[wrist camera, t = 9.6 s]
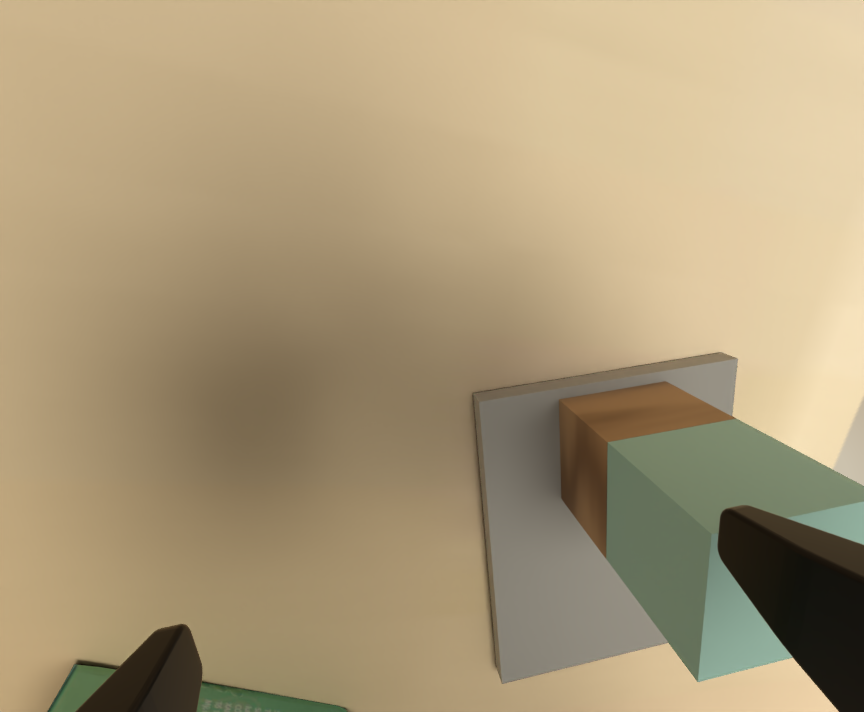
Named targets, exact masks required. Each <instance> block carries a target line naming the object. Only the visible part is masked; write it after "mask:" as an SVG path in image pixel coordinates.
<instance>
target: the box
mask: <svg viewBox="0 0 864 712" xmlns="http://www.w3.org/2000/svg"><path fill="white" fill-rule="evenodd" d="M115 671H116V669H109V668H103V667H94V666H86V665H77V664H75V665H74V666H73V668H72V670H71V672H70V673H69V675H68V677H67V679H66V680H65V682H64V684H63V686H62V687H61V689H60V691H59V693H58V694H57V696H56V698H55V700H54V701H53V703H52V705H51V706H50V708H49V710H48V712H75V711H76V710H77V709H78V708H79V707H80V706H81V705H82V704H83V703H84V702H85V701H86V700H87V699H88V698H89V697H90V696H91V695H92V694H93V693H94V692H95V691H96V690H97V689H98V688H99V687H100V686H101V685H102V684H103V683H104V682H105V681H106V680H107V679H108V678H109V677H110V676H111V675H112V674H113V673H114V672H115ZM197 712H347V711H346V709H345V708H342V707H339V706H336V705H330V704H325V703H319V702H313V701H308V700H302V699H297V698H291V697H286V696H280V695H275V694H269V693H264V692H258V691H252V690H246V689H240V688H234V687H228V686H222V685H217V684H210V683H204V682H202V683H201V689H200V695H199V701H198V707H197Z"/></svg>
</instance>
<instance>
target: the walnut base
mask: <svg viewBox="0 0 864 712" xmlns="http://www.w3.org/2000/svg"><path fill="white" fill-rule="evenodd" d="M732 419H736V418H734V417H732V416H730V415H729V414H727V413H725V412H723V411H721V410H719V409H717V408H715V407H713V406H712V405H710V404H708V403H706V402H704V401H702V400H700V399H698V398H696V397H695V396H693V395H691V394H689V393H687V392H685V391H683V390H681V389H679V388H678V387H676V386H674V385H672V384H670V383H668V382H666V381H664V382H658V383H652V384H646V385H641V386H635V387H629V388H623V389H617V390H611V391H605V392H599V393H594V394H588V395H582V396H576V397H570V398H564V399H559V426H560V465H561V499H562V500H563V502H564V503H565V504H566V506H567V507H568V508H569V510H570V511H571V513H572V514H573V515H574V517H575V518H576V519H577V521H578V522H579V523H580V525H581V526H582V527H583V529H584V530H585V531H586V533H587V534H588V535H589V537H590V538H591V539H592V541H593V542H594V544H595V545H596V546H597V548H598V549H599V550H600V552H601V553H602V554H603V556H604V557H605V558H606V539H607V455H608V442H612V441H617V440H622V439H628V438H633V437H639V436H644V435H650V434H655V433H661V432H666V431H672V430H677V429H683V428H688V427H693V426H699V425H704V424H710V423H715V422H721V421H726V420H732Z"/></svg>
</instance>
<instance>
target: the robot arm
mask: <svg viewBox="0 0 864 712" xmlns="http://www.w3.org/2000/svg"><path fill="white" fill-rule="evenodd" d="M717 549H718V553H719V556H720V558H721V560H722V562H723V564H724V565H725V566H726V568H727V569H728V570H729V572H730V573H731V575H732V576H733V577H734V579H735V580H736V582H737V583H738V584H739V586H740V587H741V588H742V590H743V591H744V593H745V594H746V595H747V597H748V598H749V600H750V601H751V602H752V604H753V605H754V606H755V608H756V609H757V611H758V612H759V613H760V615H761V616H762V618H763V619H764V620H765V622H766V623H767V624H768V626H769V627H770V629H771V630H772V631H773V633H774V634H775V635H776V637H777V638H778V639H779V641H780V642H781V643H782V645H783V646H784V647H785V648H786V650H787V651H788V652H789V653H790V654H791V656H792V657H793V658H794V659H795V661H796V662H797V663H798V664H799V665H800V666H801V668H802V669H803V670H804V671H805V672H806V673H807V675H808V676H809V677H810V678H811V679H812V681H813V682H814V683H815V684H816V685H817V686H818V688H819V689H820V690H821V691H822V692H823V693H824V695H825V696H826V697H827V698H828V699H829V701H830V702H831V703H832V704H833V705H834V706H835V708H836V709H837V710H838V711H839V712H864V545H863V544H860V543H857V542H854V541H852V540H849V539H846V538H843V537H840V536H837V535H834V534H831V533H828V532H825V531H822V530H819V529H816V528H814V527H811V526H808V525H805V524H802V523H799V522H796V521H793V520H790V519H787V518H784V517H781V516H779V515H776V514H773V513H770V512H767V511H764V510H761V509H758V508H755V507H752V506H749V505H740V506H735V507H730V508H726V509H724V510H723V511H722V513H721V515H720V522H719V533H718V543H717ZM201 683H202V663H201V660H200V657H199V654H198V651H197V648H196V645H195V642H194V639H193V636H192V633H191V631H190V629H189V627H188V626H187V625H185V624H179V625H174V626H170V627H165V628H161V629H158V630H157V631H155V632H154V633H153V634H152V635H151V636H150V637H149V638H148V639H147V640H146V641H145V642H144V643H143V644H142V645H141V646H140V647H139V648H138V649H137V650H136V651H135V652H134V653H133V654H132V655H131V656H130V657H129V658H128V659H127V660H126V661H125V662H124V663H123V664H122V665H121V666H120V667H119V668H118V669H117V670H116V671H115V672H114V673H113V674H112V675H111V676H110V677H109V678H108V679H107V680H106V681H105V682H104V683H103V684H102V685H101V686H100V687H99V688H98V689H97V690H96V691H95V692H94V693H93V694H92V695H91V696H90V697H89V698H88V699H87V700H86V701H85V702H84V703H83V704H82V705H81V706H80V707H79V708H78V709H77V710H76V711H75V712H197V707H198V701H199V695H200V689H201Z"/></svg>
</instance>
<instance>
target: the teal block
mask: <svg viewBox="0 0 864 712" xmlns="http://www.w3.org/2000/svg"><path fill="white" fill-rule="evenodd" d="M740 505H749V506H752V507H755V508H758V509H761V510H764V511H767V512H770V513H773V514H776V515H779V516H781V517H784V518H787V519H790V520H793V521H796V522H799V523H802V524H805V525H808V526H811V527H814V528H816V529H819V530H822V531H825V532H828V533H831V534H834V535H837V536H840V537H843V538H846V539H849V540H852V541H854V542H857V543H860V544H863V545H864V486H862V485H861V484H859V483H857V482H855V481H853V480H851V479H849V478H847V477H845V476H844V475H842V474H840V473H838V472H836V471H834V470H832V469H830V468H828V467H827V466H825V465H823V464H821V463H819V462H817V461H815V460H813V459H811V458H810V457H808V456H806V455H804V454H802V453H800V452H798V451H796V450H795V449H793V448H791V447H789V446H787V445H785V444H783V443H781V442H779V441H778V440H776V439H774V438H772V437H770V436H768V435H766V434H764V433H762V432H761V431H759V430H757V429H755V428H753V427H751V426H749V425H747V424H745V423H744V422H742V421H740V420H738V419H732V420H726V421H721V422H715V423H710V424H704V425H699V426H693V427H688V428H683V429H677V430H672V431H666V432H661V433H655V434H650V435H644V436H639V437H633V438H628V439H622V440H617V441H612V442H608V455H607V539H606V559H607V561H608V562H609V563H610V565H611V566H612V567H613V569H614V570H615V571H616V573H617V574H618V575H619V577H620V578H621V579H622V581H623V582H624V584H625V585H626V586H627V588H628V589H629V590H630V592H631V593H632V594H633V596H634V597H635V598H636V600H637V601H638V602H639V604H640V605H641V606H642V608H643V609H644V610H645V612H646V613H647V614H648V616H649V617H650V618H651V620H652V621H653V623H654V624H655V625H656V627H657V628H658V629H659V631H660V632H661V633H662V635H663V636H664V637H665V639H666V640H667V641H668V643H669V644H670V645H671V647H672V648H673V649H674V651H675V652H676V653H677V655H678V656H679V657H680V659H681V660H682V662H683V663H684V664H685V666H686V667H687V668H688V670H689V671H690V672H691V674H692V675H693V676H694V678H695V679H696V680H697V682H700V681H704V680H708V679H712V678H716V677H720V676H723V675H727V674H731V673H735V672H739V671H743V670H747V669H750V668H754V667H758V666H762V665H766V664H770V663H773V662H777V661H781V660H785V659H789V658H793V657H792V656H791V654H790V653H789V652H788V651H787V650H786V648H785V647H784V646H783V645H782V643H781V642H780V641H779V639H778V638H777V637H776V635H775V634H774V633H773V631H772V630H771V629H770V627H769V626H768V624H767V623H766V622H765V620H764V619H763V618H762V616H761V615H760V613H759V612H758V611H757V609H756V608H755V606H754V605H753V604H752V602H751V601H750V600H749V598H748V597H747V595H746V594H745V593H744V591H743V590H742V588H741V587H740V586H739V584H738V583H737V582H736V580H735V579H734V577H733V576H732V575H731V573H730V572H729V570H728V569H727V568H726V566H725V565H724V564H723V562H722V560H721V558H720V556H719V553H718V549H717V543H718V533H719V522H720V515H721V513H722V511H723V510H724V509H726V508H730V507H735V506H740Z"/></svg>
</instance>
